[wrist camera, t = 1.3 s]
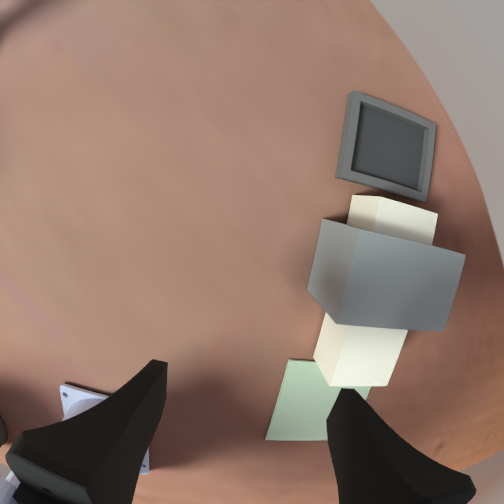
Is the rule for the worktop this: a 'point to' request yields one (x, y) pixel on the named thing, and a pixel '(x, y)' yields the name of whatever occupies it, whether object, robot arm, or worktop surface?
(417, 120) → the tray
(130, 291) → the worktop surface
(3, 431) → the pillar candle
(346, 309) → the tunnel
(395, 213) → the long ivory beam
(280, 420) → the pad
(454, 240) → the worktop surface
